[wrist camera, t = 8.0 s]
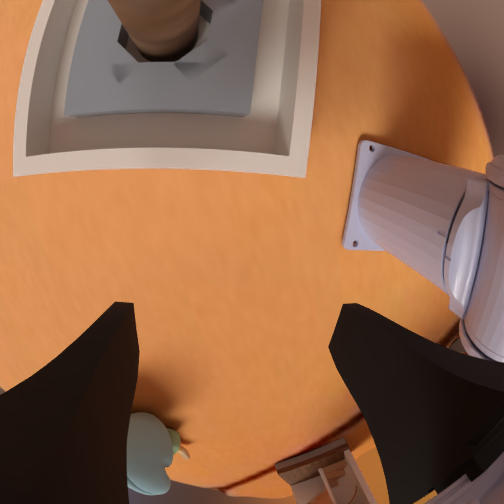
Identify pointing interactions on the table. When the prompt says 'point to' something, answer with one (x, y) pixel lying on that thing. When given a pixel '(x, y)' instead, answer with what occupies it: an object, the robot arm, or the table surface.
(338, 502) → the tall white shelf
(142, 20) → the peg
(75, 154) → the box
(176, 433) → the toy flower bud
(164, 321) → the table surface
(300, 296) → the table surface
